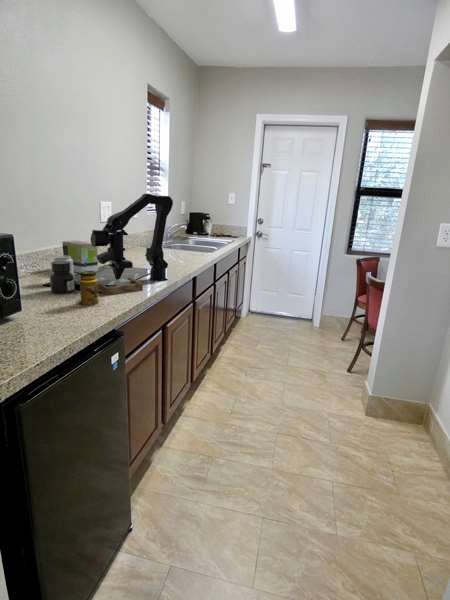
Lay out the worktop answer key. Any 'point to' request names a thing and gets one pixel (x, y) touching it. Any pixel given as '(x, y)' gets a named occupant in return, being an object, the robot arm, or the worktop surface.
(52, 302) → the worktop surface
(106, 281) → the tile
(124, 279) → the tile
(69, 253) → the tea box
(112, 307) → the worktop surface
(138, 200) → the robot arm
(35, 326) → the worktop surface
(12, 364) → the worktop surface
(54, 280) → the ink bottle
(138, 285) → the corral
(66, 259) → the can
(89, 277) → the condiment
